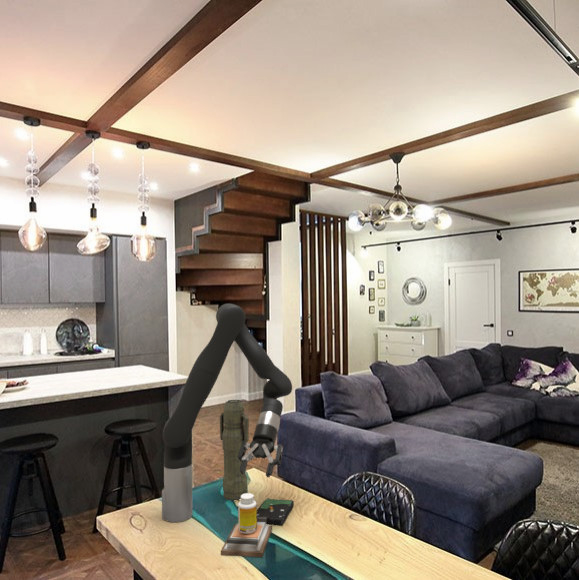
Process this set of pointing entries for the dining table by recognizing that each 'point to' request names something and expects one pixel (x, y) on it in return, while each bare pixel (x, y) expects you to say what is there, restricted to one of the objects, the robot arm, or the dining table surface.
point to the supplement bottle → (247, 514)
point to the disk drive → (275, 510)
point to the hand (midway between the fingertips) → (254, 474)
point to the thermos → (233, 448)
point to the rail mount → (248, 540)
